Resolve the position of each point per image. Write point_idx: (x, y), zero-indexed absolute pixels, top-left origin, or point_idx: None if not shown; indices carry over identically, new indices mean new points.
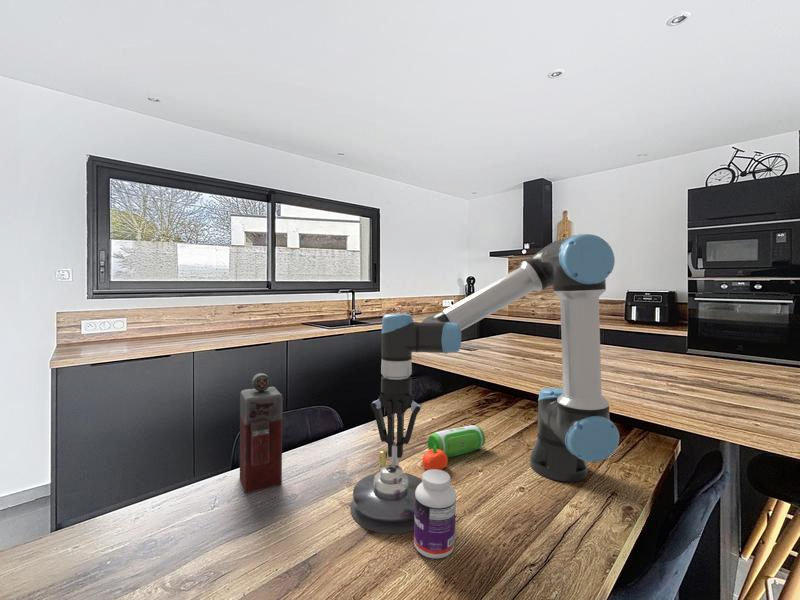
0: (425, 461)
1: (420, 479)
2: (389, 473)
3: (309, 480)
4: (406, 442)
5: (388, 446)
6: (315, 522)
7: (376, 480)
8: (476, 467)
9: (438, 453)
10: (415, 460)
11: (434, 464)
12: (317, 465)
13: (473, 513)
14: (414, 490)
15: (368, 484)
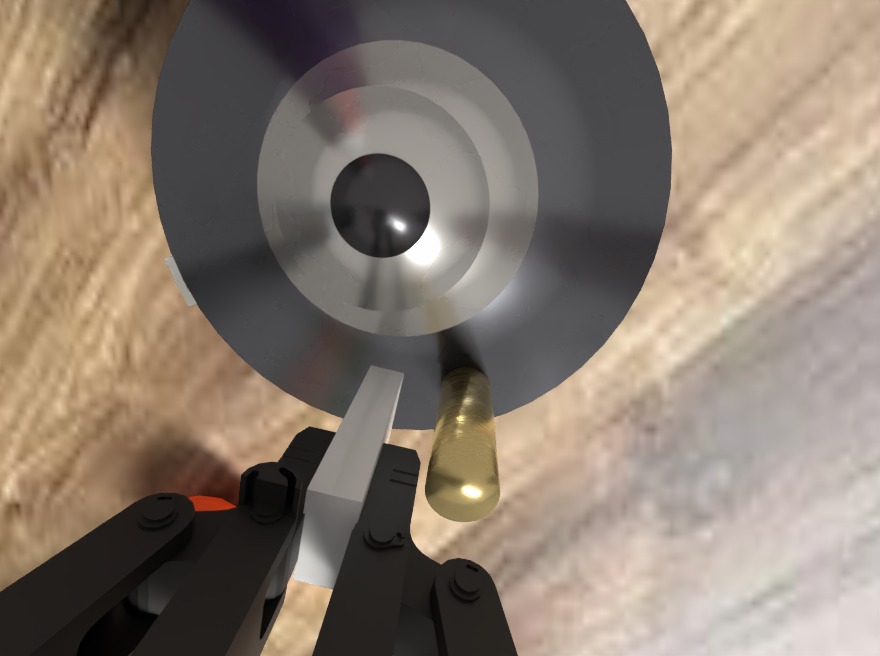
0: None
1: (232, 340)
2: (395, 136)
3: (866, 448)
4: (159, 502)
5: (405, 516)
6: (860, 33)
7: (516, 165)
8: (33, 534)
9: None
10: (312, 598)
11: None
12: (811, 578)
13: (4, 154)
14: (258, 212)
15: (559, 281)
